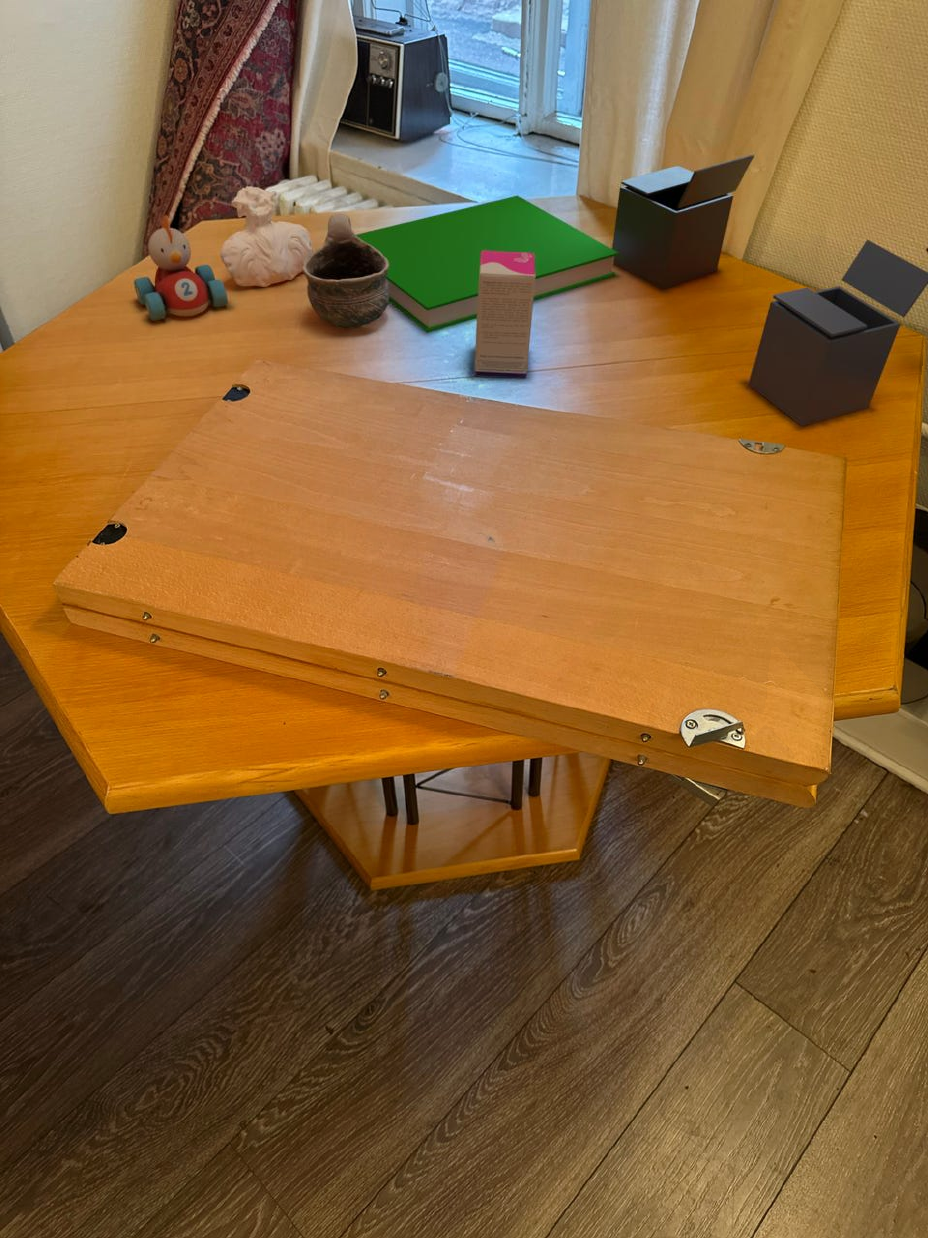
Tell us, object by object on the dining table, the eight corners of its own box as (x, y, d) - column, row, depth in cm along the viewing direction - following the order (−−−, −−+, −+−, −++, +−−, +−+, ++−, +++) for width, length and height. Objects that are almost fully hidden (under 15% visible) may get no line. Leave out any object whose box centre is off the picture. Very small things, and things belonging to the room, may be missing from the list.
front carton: (812, 367, 99) (841, 279, 91) (868, 407, 93) (903, 316, 86) (748, 384, 96) (772, 294, 89) (801, 426, 90) (832, 334, 83)
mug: (318, 345, 101) (308, 257, 94) (296, 296, 109) (285, 212, 102) (400, 332, 103) (397, 246, 96) (372, 286, 111) (367, 203, 104)
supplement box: (528, 378, 96) (535, 275, 88) (473, 376, 96) (476, 273, 88) (528, 351, 100) (535, 250, 92) (475, 350, 100) (477, 248, 92)
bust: (312, 279, 117) (278, 192, 115) (331, 261, 110) (296, 168, 108) (227, 303, 112) (190, 212, 110) (242, 285, 105) (203, 188, 103)
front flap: (841, 279, 91) (842, 280, 92) (902, 316, 86) (904, 317, 86) (867, 239, 89) (868, 239, 89) (932, 274, 84) (933, 275, 84)
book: (615, 275, 114) (618, 252, 112) (427, 332, 103) (427, 307, 101) (514, 215, 127) (515, 193, 125) (338, 260, 116) (335, 237, 114)
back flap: (734, 189, 108) (735, 190, 108) (677, 206, 104) (678, 208, 104) (753, 153, 104) (754, 155, 104) (694, 170, 100) (696, 172, 100)
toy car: (155, 328, 103) (133, 242, 96) (136, 297, 108) (114, 213, 101) (232, 311, 106) (216, 226, 99) (209, 281, 111) (193, 199, 104)
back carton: (717, 270, 116) (735, 189, 108) (662, 289, 112) (677, 206, 104) (663, 244, 121) (677, 165, 114) (610, 261, 117) (620, 180, 110)
